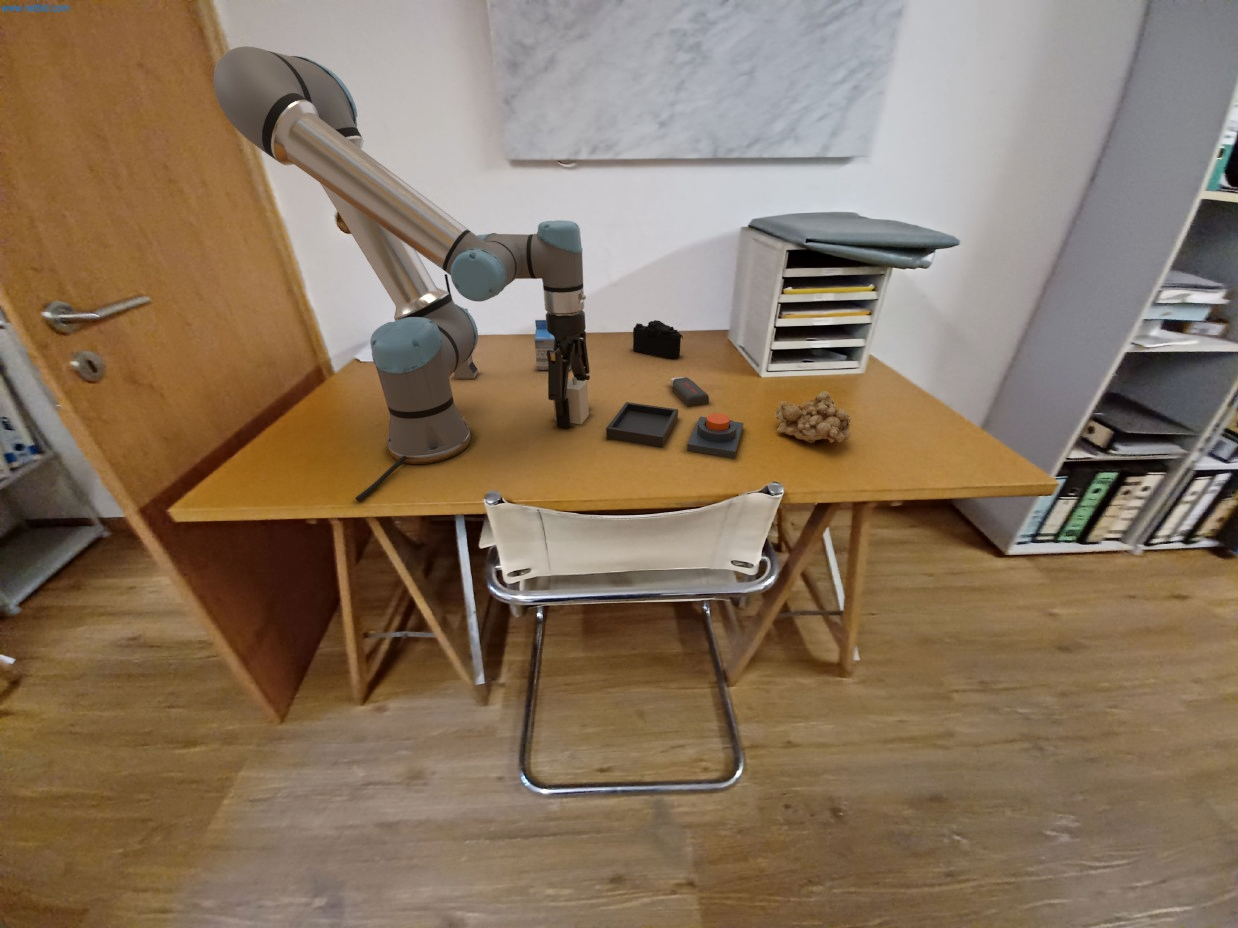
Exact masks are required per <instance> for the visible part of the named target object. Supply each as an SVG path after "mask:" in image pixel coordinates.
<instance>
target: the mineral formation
mask: <svg viewBox="0 0 1238 928" xmlns="http://www.w3.org/2000/svg"><path fill="white" fill-rule="evenodd" d="M779 403H780V404H779V407H778V408H776V409H775V413H774V415H773V416H774V417H775V418H776V420H778V422H779V426H778V428H776V431H777V433H781V434H785V435H788V436H794V437H795V438H796V439H798V440H803V441H804V442H806V443H807V444H808V443H809V444H814V443H815V442H816V441H818V440H822V439H823V440H828V441H829V443H830V444H832V443H834V442H835V441H836V442H838V443H841V442H842V441H847V440H849V439H850V438H851V431H850V429H849V428H850V427H851V424H850V423H851V420H852V418H851V417H850V415H849V413H847V412H846V410H845V409H844V408H837V406H836V404H835V400H834V398H832V396H831V394H830V393H829V392H828V391H824V390H822V391H821V392H819V393H818V394H817V396H815V398H814V399H810V400H808V401H804V402H803V403H802V404H801V405H800V404H797V405H796V404H795V403H792V402H790V403H789V402H788V401H786V400H781V401H780V402H779Z"/></svg>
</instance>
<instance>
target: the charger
mask: <svg viewBox="0 0 1238 928" xmlns="http://www.w3.org/2000/svg"><path fill="white" fill-rule="evenodd" d="M566 398H568V401H569V414H570V424H573V425H574V424H575V425H582V424H583V423H584V422H585V421H586V420H587V418H588V417H589V415H590V413H589V391H588V380H585V381H579V380H576V378H575V377H574V376H573V377H572V378H568V384H567V393H566ZM553 411H554V421H556V422H557V420H556V409H555V401H554V400H553Z"/></svg>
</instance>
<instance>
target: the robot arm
mask: <svg viewBox="0 0 1238 928" xmlns="http://www.w3.org/2000/svg"><path fill="white" fill-rule="evenodd" d="M212 80H213V91H214V93H215V97H216V100H217V103H218V105H219V107H220V109H221V111H222V112H223V114H224V115H225V117H226V118H227V120H228V122H230V124H231V125H232V126H233V127H234V128H235V129H236V130H237V131H238V132H239V133H240V134H241V135H242V136H243V137H244V138H246V139H247V140H248V141H249V142H251V143H252V144H253V145H254V146H255V147H256V148H258V149H260V150H261V151H262V152H263V153H265V154H266V155H268V156H269V157H271V158H272V159H274V160H275V161H277V162H278V163H280V164H281V165H282V166H293V165H294V166H295V167H297V168H298V169H300V170H302V171H303V172H304V173H305V174H307V175H309V176H310V177H312V178H313V179H314V180H315V181H317V182H318V183H319V184H320V186H321V187H322V188H323V190H324V192H325V193H326V195H327V197H328V198H329V200H330V202H331V203H332V205H333V206H334V209H335V210H336V211H337V213H338V215H339V216H340V218H341V219H342V221H343V223H344V224H345V226H346V228H347V229H348V231H349V233H350V235H351V236H352V237H353V239H354V241H355V242H356V245H358V248H359V249H360V251H361V252H362V254H363V255H364V257H365V259H366V260H367V262H368V264H369V265H370V267H371V268H372V270H373V271H374V273H375V275H376V277H377V278H378V279H379V281H380V283H381V285H382V286H383V287H384V290H385V291H386V292H387V294H388V296H389V297H390V299H391V301H392V303H393V304H394V306H395V311H394V316H393V319H394V321H388V322H386V323H384V324H381V325H380V326H379V327H377V328H376V329H375V330H374V331H373V333H372V335H371V336H370V341H369V343H370V349H371V358H372V361H373V364H374V365H375V368H376V371H377V375H378V378H379V382H380V385H381V389H382V392H383V396H384V399H385V403H386V405H387V409H388V413H389V422H388V436H387V448H388V451H389V454H390V456H391V457H392V458H393V459H394V460H396V462H394V464H392V465H391V466H390V467H389V468H388V469H387V470H386V471H385V472H384V473H382V475H381V476H380V477H379V478H378V479H376V480H375V482H373V483H372V484H371V485H369V487H367V488H366V489H365V490H364V491H362V492H361V493H359V494H358V495H357V496H356V497H355V500H356V501H357V502H361V501H362V500H363V499H364V498H366V497H367V496H368V495H370V494H371V493H372V492H373V491H375V490H376V489H377V488H378V487H379V486H381V484H382V483H383V482H384V481H385V480H387V478H388V477H390V475H392V473H394V472H395V471H396V470H397V468H400V466H401V465H402V464H411V465H425V464H435V463H437V462H441V461H445V460H448V459H450V458H453V457H455V456H456V455H459V454H460V453H462V452H463V451H465V449H467V447H468V446H469V445H470V443H471V440H472V437H471V431H470V427H469V426H468V423H467V422H466V417H465V415H463V416H462V415H461V413H460V410H459V409H458V407H457V406H456V404H455V401H454V396H453V391H452V390H453V389H452V385H451V382H450V377H451V376H452V375H453V374H454V372H455V370H456V369H457V368H458V367H459V366H460V365H461V364H463V363H464V362H465V361H466V360H468V359H469V357H470V356H471V354H473V353H474V351H475V349H476V347H477V345H478V340H479V331H478V327H477V323H476V321H475V319H474V317H473V316H472V314H471V313H470V312H469V311H467V310H468V309H467V308H464V307H463V306H460V305H459V304H456V303H455V302H454V300H453V297H452V298H451V296H452V295H451V296H450V294H449V293H448V291H447V290H445V289H442V288H439V287H438V286H437V285H436V284H435V282H434V280H433V278H432V277H431V274H430V272H429V271H428V268H426V265H425V264H424V262H423V261H422V259H421V257H420V255H422V256H423V257H424V258H425V259H427V260H429V262H431V263H433V264H434V265H435V266H437V267H439V268H440V270H442V271H444V272H445V273H446V274H447V275H449V276H450V280H451V282H452V285H453V286H454V288H455V289H456V291H457V292H458V294H459V295H460V296H462V297H463V298H464V299H467V300H469V301H472V302H478V303H479V302H486V301H488V300H491V299H492V298H494V297H497V296H498V295H500V294H501V292H503V291H504V289H505V288H506V287H507V286H508V285H510V284H512V282H514V281H515V280H528V279H529V280H538V279H541V280H542V290H543V302H544V310H545V311H546V314H545V320H546V325H547V331H548V332H549V333H550V334H552V335H553V336H554V338H555V339H554V349H553V350H547V358H548V370H547V375H548V376H547V398H548V400H549V401H553V402H554V401H555V409H556V420H557V421H556V427H557V428H564V429H570V428H571V423H570V414H569V401H568V398H566V393H567V384H568V379H569V374H570V373H569V372H570V370H571V373H572V374H573V378H574V377H575V378H576V380H579V381H590V380H591V379H590V378H591V376H590V375H589V374H590V373H591V372H590V364H589V356H588V355H589V354H588V347H587V331H586V328H587V327H586V313H585V311H584V309H585V301H586V299H587V296H586V294H585V293H584V292H585V291H584V290H585V289H584V268H583V267H584V264H583V246H582V239H581V238H582V237H581V228H580V226H579V224H578V223H576V222H575V221H573V220H563V219H561V220H545V221H541V222H539V224H538V225H537V231H536V233H531V234H524V233H523V234H522V233H521V234H520V233H519V234H517V233H511V234H510V233H497V232H492V233H485V234H478V235H477V234H475V233H474V232H472V231H471V230H470V229H469V228H467V227H466V226H465V225H463V224H462V223H461V222H459V221H458V220H456V219H455V218H454V217H453V216H451V215H450V214H449V213H447V212H446V211H444V209H442V208H441V207H439V206H438V205H437V204H435V203H434V202H432V201H431V200H430V199H429V198H427V197H426V196H425V195H423V194H422V193H420V192H419V191H418V190H416V189H415V188H414V187H412V186H411V185H410V184H408V183H407V182H406V181H404V180H403V179H402V178H401V177H400V176H398V175H397V174H395V173H394V172H392V171H391V170H389V168H387V167H386V166H385V165H384V164H382V163H380V162H379V161H377V160H376V159H375V158H374V157H372V156H371V155H369V154H368V153H367V152H365V151H364V150H363V147H364V142H365V139H364V138H363V135H362V134H361V132H360V131H359V129H358V122H357V118H358V110H357V106H356V103H355V100H354V98H353V96H352V94H351V92H350V90H349V89H348V87H347V86H346V84H345V83H344V82H343V80H342V79H341V78H340V77H339V76H338V75H337V74H336V73H334V72H333V71H332V70H331V69H329V68H328V67H326V66H325V65H322V64H320V63H318V62H317V61H314V60H312V59H309V58H307V57H303V56H298V55H288V54H283V53H278V52H275V51H270V50H267V49H263V48H260V47H255V46H238V47H234V48H231V49H229V50H227V52H225V53H224V54H222V55H221V57H220V58H219V59H218V61H217V63H216V65H215V67H214V72H213V79H212ZM419 254H420V255H419ZM466 309H467V310H466ZM562 360H567V361H566V362H565V361H562ZM570 366H571V369H570V370H569V367H570Z"/></svg>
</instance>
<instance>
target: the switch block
mask: <svg viewBox="0 0 1238 928" xmlns="http://www.w3.org/2000/svg"><path fill="white" fill-rule="evenodd" d="M706 419H707V416H699V418H698V420H697V422H696V424H695V427H694V429H693V430H692V433H691V435H690V438H689V440H688V442H687V444H686V452H690V453H695V454H701V455H707V456H714V457H720V458H725V459H726V458H727V459H731V460H735V458H736V456H737V455H736V454H737V451H738V448H739V444H740V440H741V437H742V434H743V430H744V425H745V424H744V422H741V421H735V420H733V419H730V421H729V428H728V429H727V430H726V431H713V430H710V429H708V428H707V427H706Z"/></svg>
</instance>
